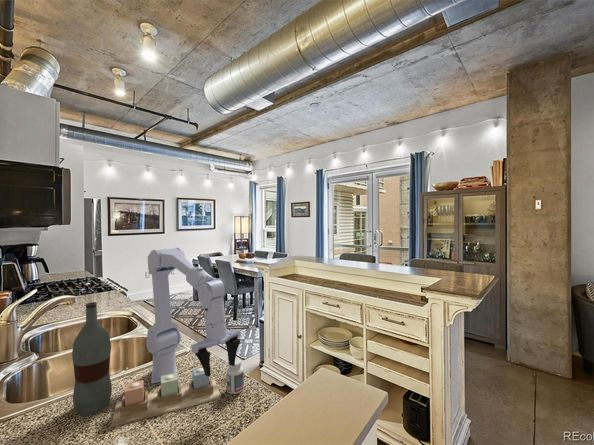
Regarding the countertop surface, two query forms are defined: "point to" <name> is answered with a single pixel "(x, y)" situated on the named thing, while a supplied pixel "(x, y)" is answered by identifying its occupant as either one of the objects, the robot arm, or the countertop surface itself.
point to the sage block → (169, 385)
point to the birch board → (164, 402)
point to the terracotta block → (134, 393)
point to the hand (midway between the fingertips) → (220, 370)
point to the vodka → (91, 366)
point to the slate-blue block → (200, 378)
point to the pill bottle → (235, 378)
